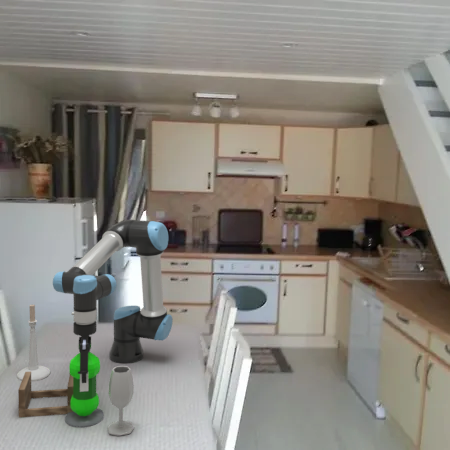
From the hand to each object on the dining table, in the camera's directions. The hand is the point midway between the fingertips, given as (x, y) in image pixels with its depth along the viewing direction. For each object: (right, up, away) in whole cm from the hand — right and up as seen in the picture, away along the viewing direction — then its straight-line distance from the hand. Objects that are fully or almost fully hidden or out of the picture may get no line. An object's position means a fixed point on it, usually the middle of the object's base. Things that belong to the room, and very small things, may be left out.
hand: (84, 383), depth 171 cm
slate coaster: (0, -12, +1) cm, 12 cm away
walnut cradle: (-16, -11, +9) cm, 21 cm away
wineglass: (+13, -14, -6) cm, 20 cm away
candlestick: (-31, -7, +34) cm, 46 cm away
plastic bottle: (0, -10, +1) cm, 11 cm away
